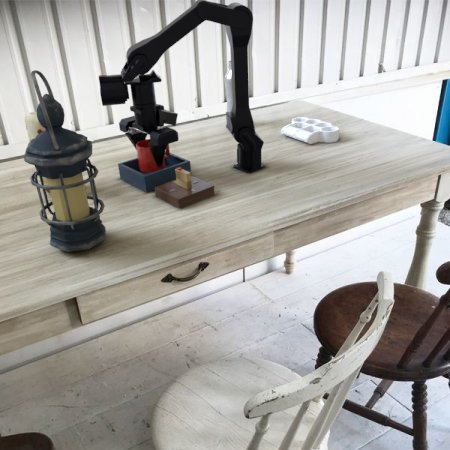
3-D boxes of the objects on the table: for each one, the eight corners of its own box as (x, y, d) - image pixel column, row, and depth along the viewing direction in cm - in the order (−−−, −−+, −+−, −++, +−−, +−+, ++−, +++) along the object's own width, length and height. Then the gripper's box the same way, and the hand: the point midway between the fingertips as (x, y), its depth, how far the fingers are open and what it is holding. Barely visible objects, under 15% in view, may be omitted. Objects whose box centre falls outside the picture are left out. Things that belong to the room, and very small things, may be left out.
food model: (35, 189, 138) (15, 111, 126) (58, 181, 141) (41, 105, 129) (51, 200, 131) (31, 120, 120) (75, 192, 135) (58, 113, 123)
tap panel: (214, 195, 130) (214, 185, 129) (179, 209, 125) (178, 198, 123) (190, 183, 137) (189, 174, 135) (155, 196, 131) (154, 186, 129)
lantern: (111, 255, 108) (77, 76, 88) (46, 264, 106) (-4, 83, 86) (110, 224, 119) (79, 59, 99) (50, 231, 118) (7, 65, 97)
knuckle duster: (274, 134, 166) (307, 124, 173) (314, 148, 154) (348, 137, 161) (274, 123, 164) (307, 114, 171) (315, 137, 152) (349, 126, 159)
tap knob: (192, 188, 128) (190, 171, 126) (187, 189, 127) (186, 173, 125) (181, 182, 131) (179, 166, 128) (176, 184, 130) (175, 168, 128)
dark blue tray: (191, 176, 141) (190, 160, 138) (146, 192, 133) (144, 176, 131) (164, 164, 149) (162, 149, 146) (120, 179, 141) (117, 163, 139)
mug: (149, 174, 135) (145, 149, 131) (134, 167, 139) (131, 143, 135) (177, 164, 140) (175, 140, 136) (163, 158, 144) (160, 134, 140)
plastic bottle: (246, 128, 172) (245, 63, 160) (225, 129, 172) (223, 63, 160) (246, 122, 177) (245, 58, 165) (226, 123, 177) (223, 59, 166)
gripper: (193, 101, 127) (197, 163, 136) (149, 88, 139) (156, 146, 148) (155, 111, 121) (163, 175, 131) (113, 97, 133) (123, 157, 142)
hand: (151, 162), depth 138 cm, fingers closed on mug, 7 cm apart
